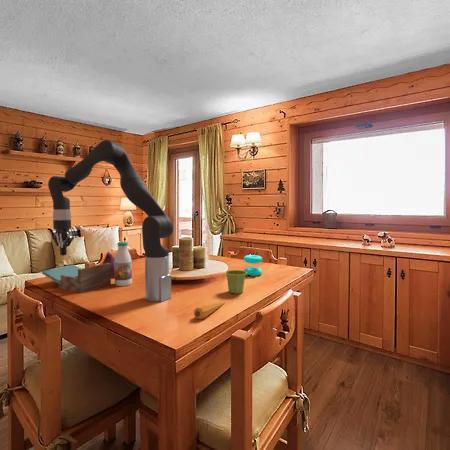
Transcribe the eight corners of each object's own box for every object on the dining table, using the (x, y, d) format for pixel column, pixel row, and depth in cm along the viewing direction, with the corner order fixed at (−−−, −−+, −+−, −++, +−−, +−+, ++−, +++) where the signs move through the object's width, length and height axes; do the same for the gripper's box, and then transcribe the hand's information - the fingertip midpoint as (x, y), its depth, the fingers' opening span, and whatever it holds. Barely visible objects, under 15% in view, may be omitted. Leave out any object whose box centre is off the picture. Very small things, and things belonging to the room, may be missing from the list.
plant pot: (221, 290, 134) (221, 270, 133) (240, 288, 138) (240, 269, 137) (230, 296, 125) (230, 275, 125) (250, 293, 129) (250, 273, 129)
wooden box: (110, 284, 143) (110, 263, 142) (80, 293, 129) (80, 269, 128) (89, 280, 150) (88, 260, 149) (58, 288, 135) (57, 266, 135)
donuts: (243, 254, 169) (261, 254, 169) (243, 272, 170) (261, 272, 169) (244, 257, 159) (263, 257, 159) (243, 276, 160) (262, 276, 159)
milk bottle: (111, 284, 143) (110, 242, 141) (126, 281, 149) (126, 240, 147) (119, 287, 138) (119, 243, 136) (135, 284, 143) (134, 242, 142)
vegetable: (114, 285, 153) (113, 258, 148) (96, 281, 155) (94, 254, 150) (125, 275, 163) (124, 250, 158) (108, 272, 165) (106, 246, 159)
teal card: (89, 273, 149) (73, 264, 154) (58, 280, 135) (42, 270, 140) (88, 277, 150) (73, 269, 155) (57, 285, 135) (41, 275, 141)
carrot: (200, 323, 99) (205, 311, 98) (189, 315, 101) (194, 304, 100) (227, 310, 117) (232, 300, 116) (218, 304, 119) (223, 294, 118)
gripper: (78, 219, 144) (79, 255, 145) (60, 218, 150) (61, 253, 151) (63, 219, 137) (65, 257, 139) (45, 219, 144) (47, 255, 145)
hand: (63, 255), depth 145 cm, fingers closed
